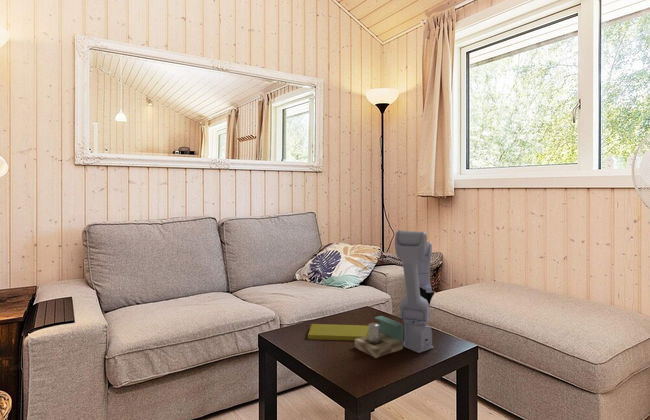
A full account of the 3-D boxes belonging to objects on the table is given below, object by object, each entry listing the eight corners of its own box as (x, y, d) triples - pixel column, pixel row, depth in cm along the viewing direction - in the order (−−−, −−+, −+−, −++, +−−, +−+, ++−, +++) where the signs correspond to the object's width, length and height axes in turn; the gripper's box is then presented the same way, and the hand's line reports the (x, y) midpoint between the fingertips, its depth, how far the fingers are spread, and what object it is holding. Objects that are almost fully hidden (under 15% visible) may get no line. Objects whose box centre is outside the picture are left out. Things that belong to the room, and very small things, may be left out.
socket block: (402, 349, 141) (402, 340, 141) (375, 358, 134) (375, 349, 134) (381, 339, 150) (381, 331, 150) (354, 347, 143) (354, 339, 143)
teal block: (402, 340, 141) (403, 323, 141) (395, 342, 139) (396, 325, 139) (381, 331, 150) (381, 315, 150) (374, 333, 148) (374, 317, 148)
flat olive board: (307, 340, 151) (371, 342, 149) (307, 334, 151) (371, 336, 148) (311, 329, 163) (370, 331, 161) (311, 323, 163) (370, 325, 161)
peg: (382, 350, 140) (382, 325, 140) (374, 353, 138) (374, 327, 137) (374, 346, 143) (374, 321, 143) (366, 349, 141) (366, 324, 140)
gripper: (406, 268, 163) (406, 301, 164) (419, 276, 149) (418, 312, 150) (423, 268, 164) (422, 300, 165) (437, 275, 150) (436, 311, 151)
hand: (422, 306), depth 158 cm, fingers open, 7 cm apart
